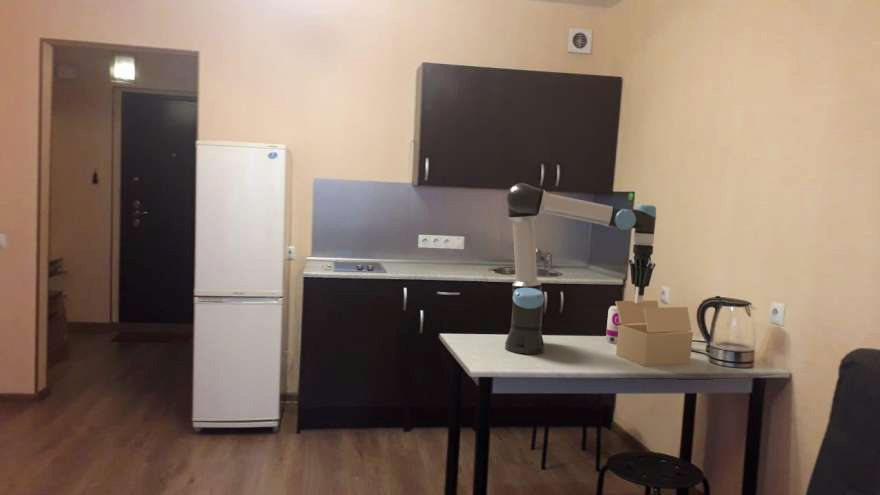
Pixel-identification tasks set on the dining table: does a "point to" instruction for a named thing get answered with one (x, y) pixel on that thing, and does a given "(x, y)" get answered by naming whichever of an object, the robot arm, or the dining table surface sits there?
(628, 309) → the far flap
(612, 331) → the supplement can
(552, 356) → the dining table surface
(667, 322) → the near flap
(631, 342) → the carton
